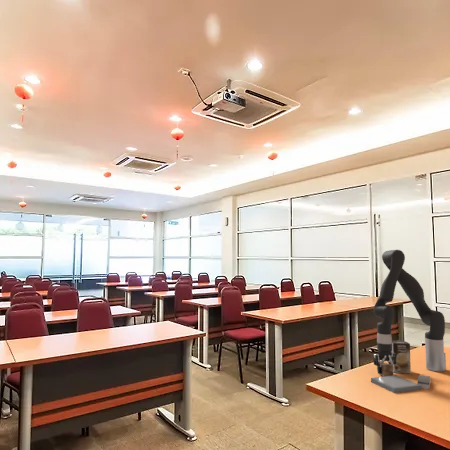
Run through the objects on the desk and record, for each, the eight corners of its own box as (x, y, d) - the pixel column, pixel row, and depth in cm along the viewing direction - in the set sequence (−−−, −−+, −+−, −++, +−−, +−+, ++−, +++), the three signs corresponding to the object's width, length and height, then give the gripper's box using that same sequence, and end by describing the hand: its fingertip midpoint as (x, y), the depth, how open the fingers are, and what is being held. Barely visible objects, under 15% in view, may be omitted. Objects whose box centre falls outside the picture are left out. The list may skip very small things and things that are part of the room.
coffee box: (394, 372, 202) (393, 343, 204) (389, 369, 209) (389, 340, 210) (411, 373, 201) (410, 343, 203) (406, 369, 208) (405, 341, 209)
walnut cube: (385, 372, 203) (385, 362, 203) (393, 375, 198) (392, 365, 198) (377, 373, 201) (377, 363, 202) (384, 376, 196) (384, 366, 197)
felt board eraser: (419, 381, 190) (419, 374, 190) (430, 382, 187) (430, 376, 188) (417, 388, 180) (417, 381, 180) (429, 390, 177) (428, 383, 177)
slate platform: (396, 378, 192) (396, 374, 192) (421, 389, 177) (420, 385, 177) (371, 381, 187) (370, 377, 187) (394, 393, 172) (394, 388, 172)
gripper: (390, 339, 207) (391, 369, 205) (368, 341, 202) (369, 372, 201) (400, 342, 200) (401, 373, 198) (378, 344, 195) (379, 376, 194)
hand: (385, 372), depth 200 cm, fingers open, 6 cm apart
